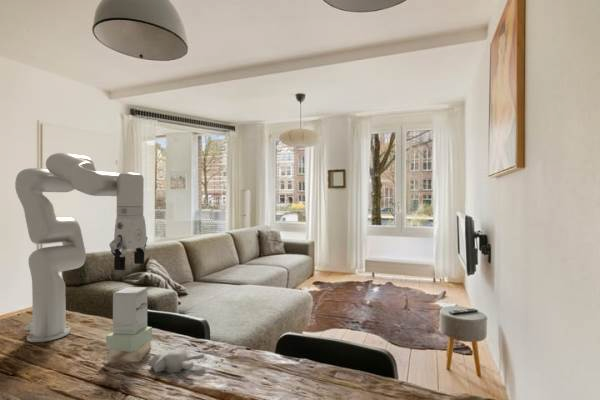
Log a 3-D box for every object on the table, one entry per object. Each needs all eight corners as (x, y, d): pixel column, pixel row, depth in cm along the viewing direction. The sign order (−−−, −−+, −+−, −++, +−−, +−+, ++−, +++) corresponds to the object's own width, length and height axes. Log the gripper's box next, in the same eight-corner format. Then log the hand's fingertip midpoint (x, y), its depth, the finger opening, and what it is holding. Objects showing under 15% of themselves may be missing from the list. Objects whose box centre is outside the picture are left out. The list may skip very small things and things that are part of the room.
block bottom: (108, 363, 100) (108, 350, 100) (122, 350, 109) (122, 338, 109) (139, 363, 101) (138, 349, 101) (150, 349, 110) (150, 337, 110)
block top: (106, 348, 101) (106, 335, 101) (128, 336, 110) (128, 324, 110) (131, 352, 99) (130, 338, 99) (152, 339, 108) (151, 327, 108)
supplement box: (135, 334, 102) (135, 293, 102) (112, 334, 102) (111, 292, 102) (148, 325, 109) (148, 286, 109) (126, 325, 110) (126, 286, 110)
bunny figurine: (163, 345, 103) (206, 344, 99) (164, 361, 103) (208, 362, 99) (140, 359, 94) (187, 359, 90) (142, 377, 94) (189, 378, 90)
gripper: (123, 213, 96) (123, 273, 96) (156, 211, 113) (156, 261, 114) (99, 213, 97) (99, 272, 97) (135, 211, 114) (135, 261, 114)
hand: (129, 266), depth 105 cm, fingers open, 9 cm apart
